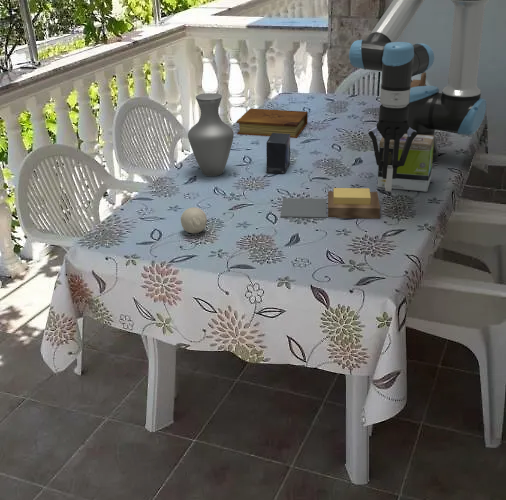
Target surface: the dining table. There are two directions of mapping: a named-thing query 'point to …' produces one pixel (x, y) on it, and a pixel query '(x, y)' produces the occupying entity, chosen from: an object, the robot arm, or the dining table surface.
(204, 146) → the vase
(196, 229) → the baseball
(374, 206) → the brown flat block
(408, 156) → the tea box
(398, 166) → the robot arm
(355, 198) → the yellow block
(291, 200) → the mat
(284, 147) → the small box
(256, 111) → the diary
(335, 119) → the dining table surface
